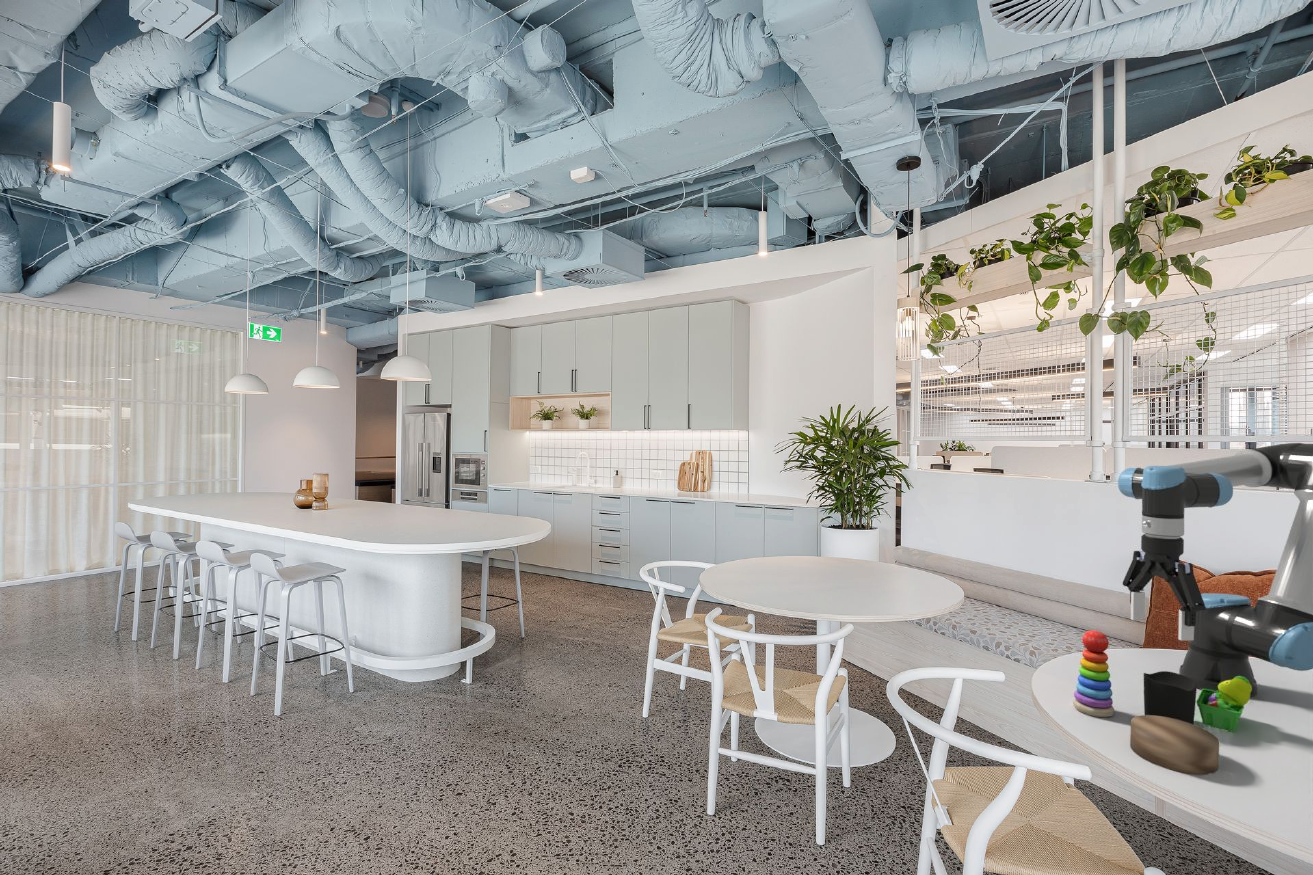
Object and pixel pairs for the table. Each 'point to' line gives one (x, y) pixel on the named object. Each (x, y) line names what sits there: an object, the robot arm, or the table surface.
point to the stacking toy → (1094, 677)
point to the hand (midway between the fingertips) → (1160, 629)
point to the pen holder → (1170, 696)
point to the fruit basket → (1224, 703)
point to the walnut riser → (1174, 744)
